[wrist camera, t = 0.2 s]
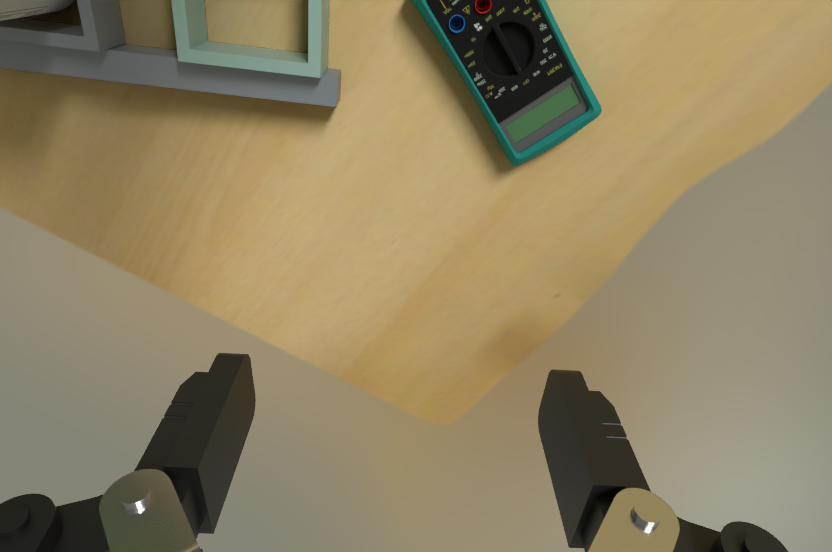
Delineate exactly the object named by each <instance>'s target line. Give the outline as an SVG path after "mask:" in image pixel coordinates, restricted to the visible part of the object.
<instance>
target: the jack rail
mask: <svg viewBox="0 0 832 552" xmlns="http://www.w3.org/2000/svg"><path fill="white" fill-rule="evenodd" d="M171 3H172V11H173V20H174V28H175V37H176V45H177V50H169V49H161V48H153V47H144V46H136V45H128V44H126V43H125V37H124V31H123V25H122V19H121V13H120V7H119V1H118V0H77V4H78V9H79V14H80V19H81V23H82V26H79V25H70V24H62V23H54V22H46V21H38V20H29V19H21V18H15V19H9V20H3V21H0V68H2V69H11V70H19V71H28V72H36V73H45V74H54V75H62V76H71V77H80V78H88V79H97V80H106V81H114V82H123V83H132V84H140V85H149V86H158V87H166V88H175V89H184V90H192V91H201V92H210V93H218V94H227V95H236V96H244V97H253V98H262V99H270V100H279V101H288V102H296V103H305V104H313V105H322V106H331V107H336V106H337V104H338V102H339V100H340V88H341V70H336V69H327V68H328V40H329V0H309V2H308V53H301V52H292V51H284V50H276V49H268V48H260V47H251V46H243V45H235V44H227V43H218V42H210V41H208V35H207V24H206V13H205V1H204V0H171Z"/></svg>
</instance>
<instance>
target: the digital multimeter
mask: <svg viewBox="0 0 832 552" xmlns="http://www.w3.org/2000/svg"><path fill="white" fill-rule="evenodd" d="M412 1H413V3H414V4H415V6H416V7H417V9H418V10H419V12H420V13H421V15H422V16H423V18H424V19H425V21H426V22H427V24H428V25H429V27H430V28H431V30H432V31H433V33H434V34H435V36H436V37H437V39H438V40H439V42H440V44H441V45H442V47H443V48H444V50H445V51H446V53H447V54H448V56H449V58H450V59H451V61H452V62H453V64H454V65H455V67H456V68H457V70H458V72H459V73H460V75H461V76H462V78H463V80H464V81H465V83H466V85H467V86H468V88H469V90H470V91H471V93H472V95H473V97H474V98H475V100H476V102H477V103H478V105H479V107H480V109H481V110H482V112H483V114H484V115H485V117H486V119H487V121H488V123H489V124H490V126H491V128H492V130H493V132H494V134H495V135H496V137H497V139H498V141H499V143H500V145H501V146H502V148H503V150H504V152H505V154H506V156H507V157H508V159H509V161H510V163H511V164H512V165H515V166H517V165H520V164H522V163H524V162H526V161H528V160H530V159H532V158H534V157H536V156H538V155H540V154H542V153H544V152H545V151H547V150H549V149H551V148H553V147H554V146H556V145H557V144H559V143H561V142H562V141H564V140H566V139H567V138H569V137H570V136H572V135H573V134H574V133H576V132H577V131H579V130H580V129H582V128H583V127H584V126H586V125H587V124H589V123H590V122H591V121H593V120H594V119H595V118H597V117H598V116H599V115H600V114H601V111H602V109H601V106H600V104H599V102H598V100H597V98H596V97H595V95H594V93H593V91H592V89H591V88H590V86H589V84H588V82H587V80H586V79H585V77H584V75H583V73H582V71H581V69H580V68H579V66H578V64H577V62H576V60H575V59H574V57H573V55H572V53H571V51H570V49H569V47H568V45H567V43H566V41H565V39H564V37H563V35H562V33H561V31H560V29H559V27H558V25H557V23H556V21H555V19H554V17H553V15H552V13H551V11H550V8H549V6H548V4H547V2H546V0H412ZM428 6H429V7H428ZM431 11H432V12H431ZM505 19H506V20H505ZM517 19H518V20H517ZM499 21H500V22H499ZM527 24H528V25H527ZM530 27H531V28H530ZM489 28H490V29H489ZM485 33H486V34H485ZM534 33H535V34H534ZM536 38H537V39H536ZM537 44H538V45H537ZM537 49H538V50H537ZM536 55H537V56H536ZM527 71H528V72H527ZM526 72H527V73H526ZM517 78H518V79H517ZM500 80H501V81H500ZM511 80H512V81H511ZM585 111H586V112H585Z"/></svg>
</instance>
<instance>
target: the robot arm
mask: <svg viewBox="0 0 832 552" xmlns="http://www.w3.org/2000/svg"><path fill="white" fill-rule="evenodd" d="M254 411H255V390H254V383H253V376H252V368H251V361H250V357H249V355H248V354H230V353H229V354H228V353H219V354H218V355H217V356H216V358H215V360H214V362H213V364H212V366H211V368H210V370H209V372H195V373H194V374H193V375H192V376H191V377H190V378H188V379H187V380H186V381H185V382H184V383H183V384H182V385H180V387H179V389H178V391H177V393H176V395H175V396H174V399H173V400H172V404H171V405H170V406H169V408H168V410H167V411H166V413H165V415H164V419H162V421H161V422H160V424H159V426H158V428H157V430H156V432H155V434H154V436H153V437H152V439H151V441H150V443H149V445H148V447H147V449H146V451H145V453H144V455H143V456H142V458H141V460H140V462H139V464H138V466H137V467H136V469H135V470H134V472H131V473H129V474H127V475H125V476H123V477H121V478H120V479H118V480H117V481H115V482H114V483H113V484H112V485H111V486H110V487H109V488H108V489H107V490H106V492H105V493H104V494H103V495H100V496H98V497H95V498H91V499H87V500H82V501H78V502H74V503H70V504H66V505H62V506H57V507H55V505H54V504H53V502H52V500H51V499H50V498H49V497H47V496H45V495H41V494H26V495H21V496H18V497H14V498H12V499H9V500H7V501H5V502H3V503H2V504H0V552H203V550H202V549H200V548H199V546H198V543H197V541H196V538H197V535H198V533H212V534H213V533H214V531H215V528H216V524H217V522H218V519H219V516H220V513H221V510H222V507H223V504H224V501H225V498H226V496H227V493H228V490H229V487H230V484H231V481H232V478H233V475H234V472H235V470H236V466H237V464H238V461H239V458H240V455H241V452H242V449H243V446H244V443H245V440H246V438H247V435H248V432H249V429H250V426H251V423H252V420H253V416H254ZM538 426H539V433H540V437H541V441H542V445H543V449H544V452H545V457H546V460H547V464H548V468H549V472H550V476H551V479H552V484H553V487H554V491H555V495H556V499H557V503H558V507H559V511H560V515H561V519H562V522H563V526H564V530H565V534H566V538H567V542H568V546H569V547H570V548H584V549H585V552H788V551H787V549H786V548H785V547H784V546H783V544H782V543H781V542H780V541H778V539H776V538H775V537H774V536H773V535H771V534H770V533H769V532H767V531H766V530H764V529H762V528H760V527H758V526H756V525H754V524H750V523H747V522H731V523H729V524H727V525H726V526H724V528H723V529H722V531H721V532H718V531H715V530H712V529H709V528H706V527H703V526H700V525H697V524H694V523H690V522H687V521H685V520H683V519H681V518H679V517H677V516H676V514H675V513H674V511H673V510H672V508H671V507H670V506H669V505H668V504H667V503H666V502H665V501H664V500H663V499H662V498H660V497H659V496H657V495H656V494H654V493H652V492H651V491H650V489H649V486H648V484H647V482H646V480H645V477H644V475H643V473H642V470H641V468H640V466H639V464H638V461H637V459H636V457H635V454H634V452H633V450H632V447H631V445H630V443H629V441H628V440H627V439H626V434H625V431H624V429H623V427H622V426H621V422H620V420H619V418H618V415H617V413H616V411H615V408H614V406H613V405H612V404H611V403H610V402H609V401H608V400H607V399H606V398H605V397H604V396H603V394H601V392H599V391H589V390H588V388H587V386H586V383H585V380H584V378H583V375H582V373H581V372H580V371H570V370H551V371H550V372H549V375H548V379H547V382H546V386H545V390H544V393H543V397H542V401H541V405H540V408H539V415H538Z"/></svg>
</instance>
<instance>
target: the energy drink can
mask: <svg viewBox="0 0 832 552" xmlns="http://www.w3.org/2000/svg"><path fill="white" fill-rule="evenodd" d="M72 2H74V0H0V21H3V20H9V19H15V18H21V17H27V16H33V15H38V14H44V13H50V12H55V11H60V10H62V9H64V8H66V7H68V6H69V5H70V4H71V3H72Z"/></svg>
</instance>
